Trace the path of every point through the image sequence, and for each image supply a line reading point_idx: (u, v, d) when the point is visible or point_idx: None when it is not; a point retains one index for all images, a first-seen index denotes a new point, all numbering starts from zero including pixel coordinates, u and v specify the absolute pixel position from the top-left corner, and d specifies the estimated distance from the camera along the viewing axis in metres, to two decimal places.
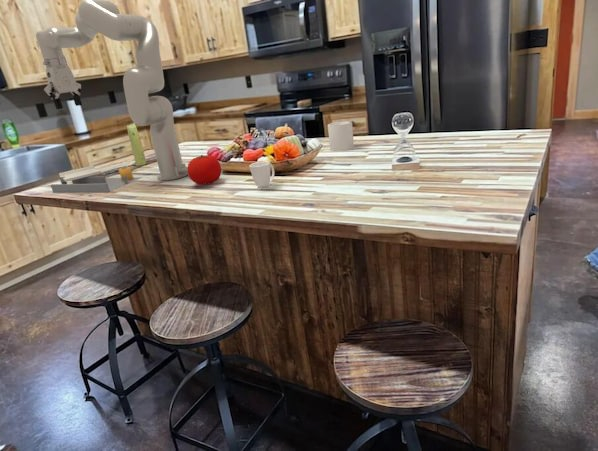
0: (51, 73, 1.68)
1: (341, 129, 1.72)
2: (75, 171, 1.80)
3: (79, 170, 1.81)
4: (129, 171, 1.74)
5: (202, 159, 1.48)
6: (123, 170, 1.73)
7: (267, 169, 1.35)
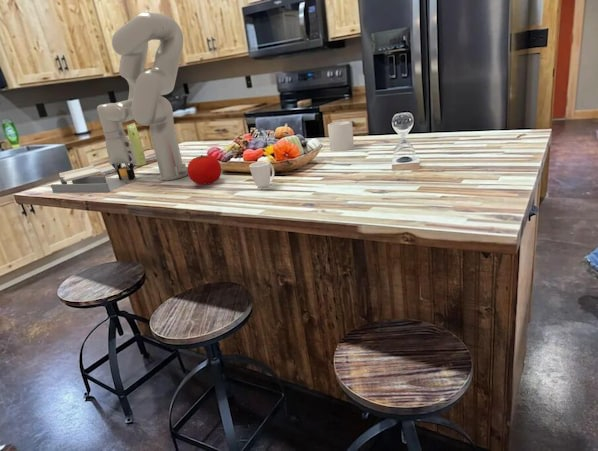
0: (129, 142, 1.70)
1: (341, 129, 1.72)
2: (75, 171, 1.80)
3: (79, 170, 1.81)
4: None
5: (202, 159, 1.48)
6: (123, 170, 1.73)
7: (267, 169, 1.35)
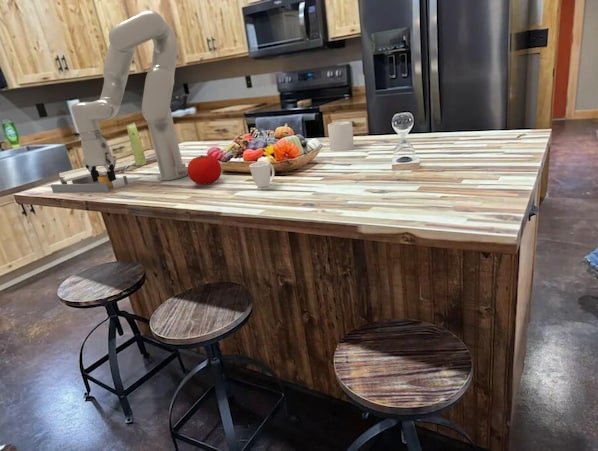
0: (106, 143, 1.60)
1: (341, 129, 1.72)
2: (75, 171, 1.80)
3: (79, 170, 1.81)
4: None
5: (202, 159, 1.48)
6: (102, 178, 1.63)
7: (267, 169, 1.35)
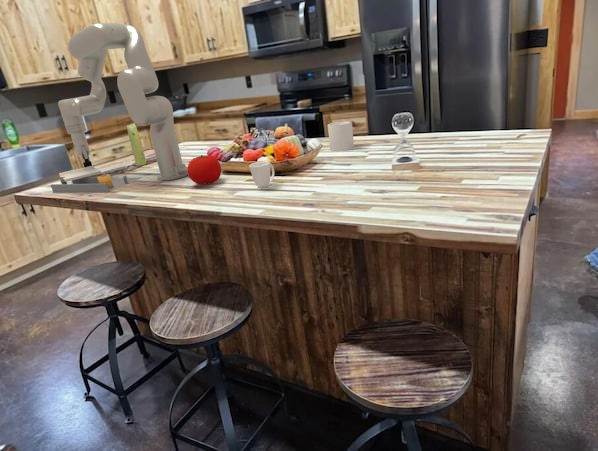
0: None
1: (341, 129, 1.72)
2: (75, 171, 1.80)
3: (79, 170, 1.81)
4: (109, 179, 1.65)
5: (202, 159, 1.48)
6: (102, 178, 1.63)
7: (267, 169, 1.35)
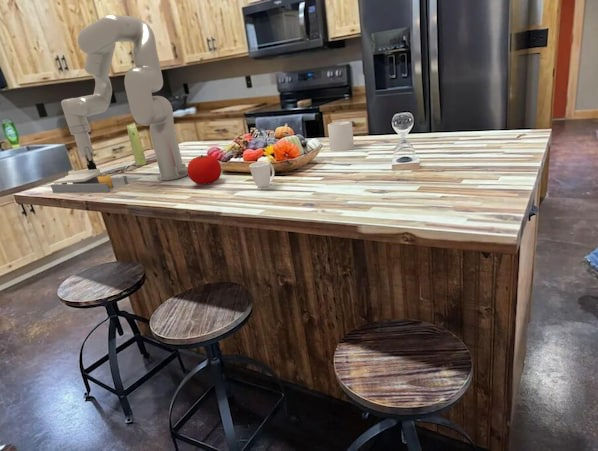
0: None
1: (341, 129, 1.72)
2: (81, 172, 1.76)
3: (85, 172, 1.76)
4: (109, 179, 1.65)
5: (202, 159, 1.48)
6: (103, 178, 1.63)
7: (267, 169, 1.35)
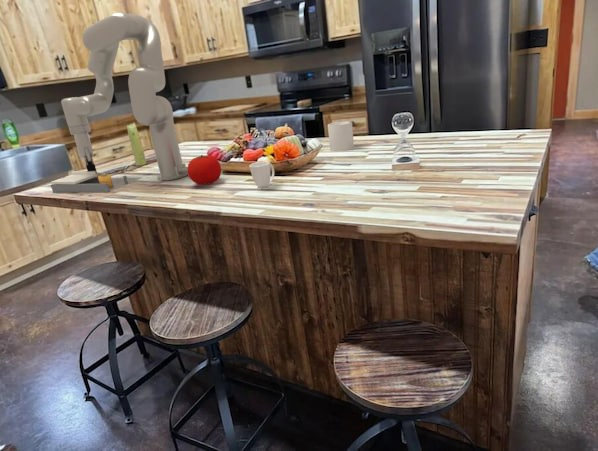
0: None
1: (341, 129, 1.72)
2: (81, 173, 1.75)
3: (83, 173, 1.74)
4: (110, 179, 1.65)
5: (202, 159, 1.48)
6: (104, 178, 1.63)
7: (267, 169, 1.35)
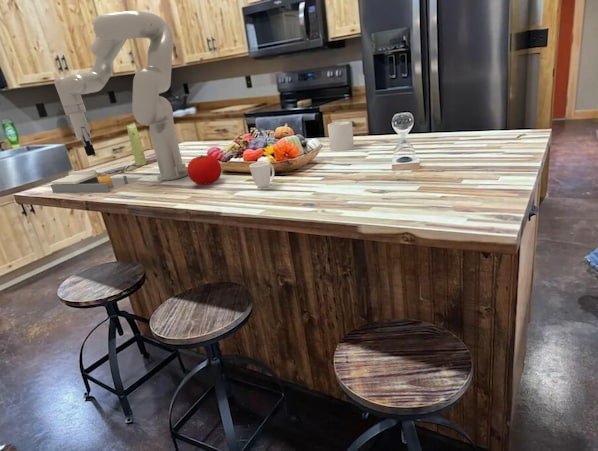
0: None
1: (341, 129, 1.72)
2: (81, 173, 1.75)
3: (83, 173, 1.74)
4: (109, 178, 1.65)
5: (202, 159, 1.48)
6: (103, 178, 1.63)
7: (267, 169, 1.35)
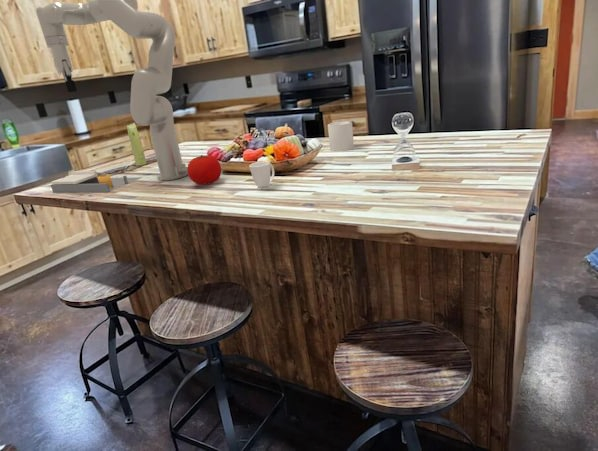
0: None
1: (341, 129, 1.72)
2: (81, 173, 1.75)
3: (83, 173, 1.74)
4: (110, 178, 1.65)
5: (202, 159, 1.48)
6: (104, 177, 1.63)
7: (267, 169, 1.35)
